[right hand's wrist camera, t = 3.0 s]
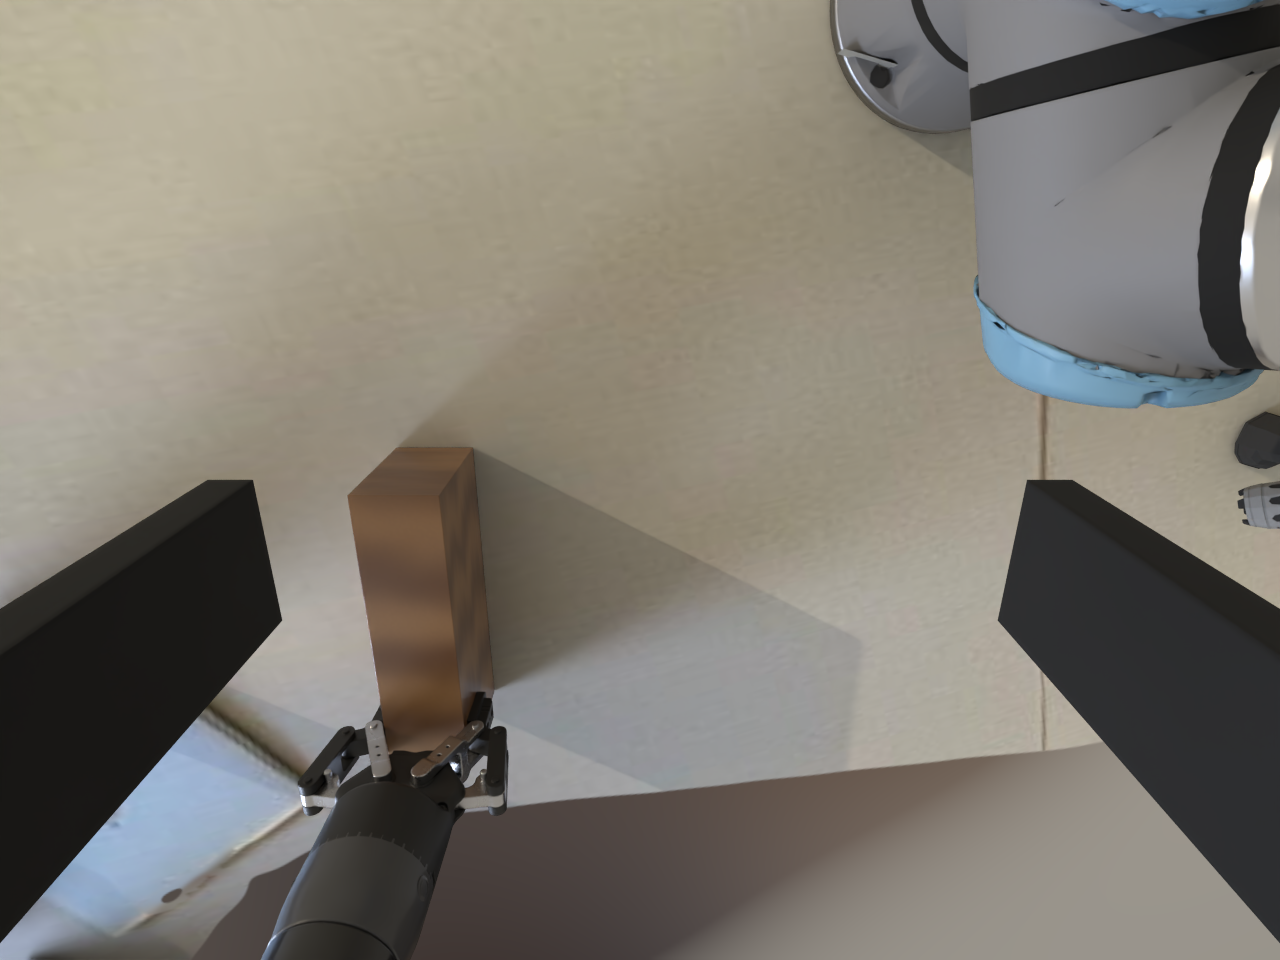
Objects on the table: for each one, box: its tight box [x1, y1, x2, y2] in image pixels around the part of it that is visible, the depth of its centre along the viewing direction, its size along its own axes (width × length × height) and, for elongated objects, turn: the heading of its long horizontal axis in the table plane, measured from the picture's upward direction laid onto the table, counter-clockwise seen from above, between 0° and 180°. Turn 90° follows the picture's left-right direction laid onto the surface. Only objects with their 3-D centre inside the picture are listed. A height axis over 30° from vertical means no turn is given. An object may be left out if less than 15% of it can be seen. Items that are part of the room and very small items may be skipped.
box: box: [348, 448, 494, 754], centre depth 54 cm, size 23×6×10 cm, turn 0°
